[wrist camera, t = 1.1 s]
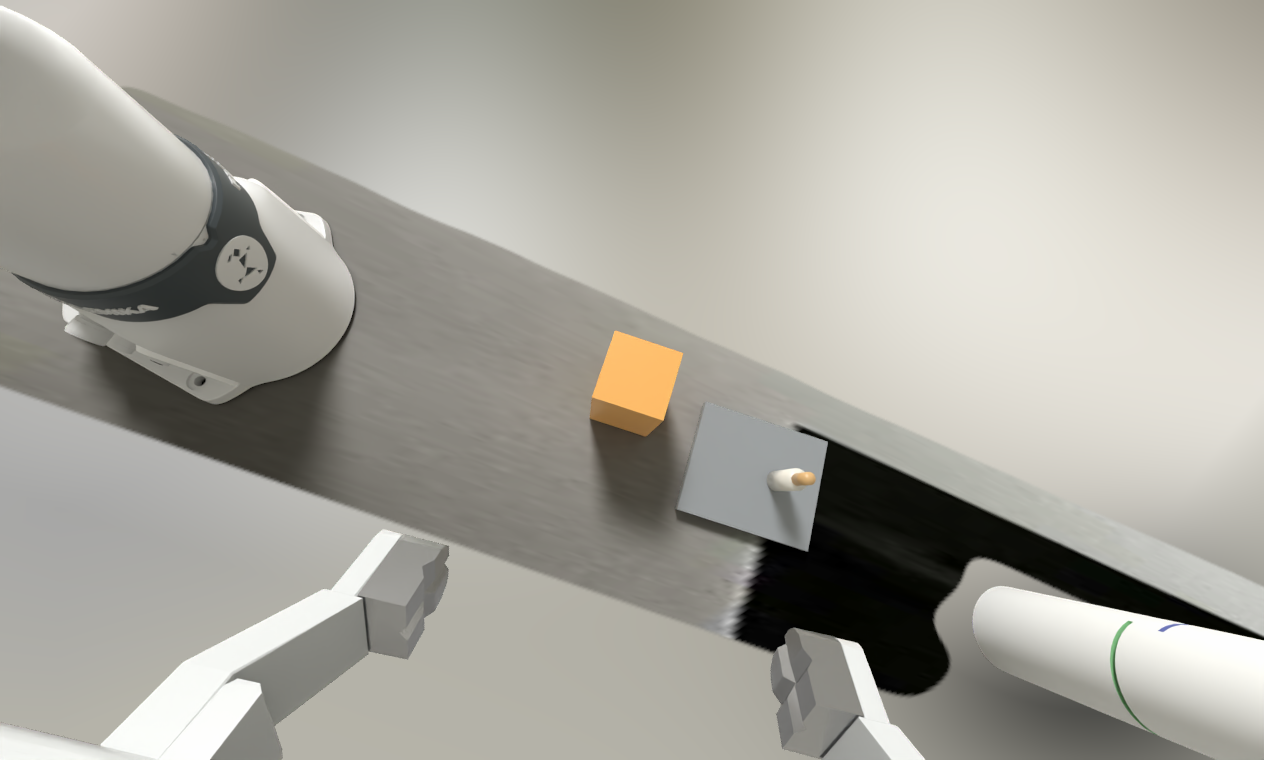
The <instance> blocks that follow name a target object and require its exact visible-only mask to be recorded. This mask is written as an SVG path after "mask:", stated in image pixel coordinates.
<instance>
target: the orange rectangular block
mask: <svg viewBox="0 0 1264 760" xmlns="http://www.w3.org/2000/svg"><path fill="white" fill-rule="evenodd" d="M682 356H683V353H681V352H678V351H675V350H672V349H669V348H666V347H663V346H660V345H657V344H654V343H651V342H648V341H645V340H642V339H639V338H636V337H633V336H630V335H627V334H624V333H621V332H618V331H615V332H614V335H613V338H612V341H611V344H610V347H609V349H608V352H607V355H606V358H605V361H604V364H603V367H602V370H601V373H600V375H599V378H598V381H597V384H596V387H595V390H594V393H593V396H592V402H591V411H590V419H593V420H596V421H599V422H602V423H605V424H608V425H611V426H614V427H617V428H620V429H623V430H626V431H629V432H633V433H636V434H639V435H642V436H645V437H646V436H647V435H648V434H650V433H651V432H652V431H653V430H654V429H655V428H656V427H657V426H658V425H659V424H660V423H661V422H663V421H664V417H665V414H666V410H667V407H668V403H669V400H670V397H671V393H672V390H673V386H674V383H675V380H676V376H677V373H678V369H679V366H680V362H681V359H682Z"/></svg>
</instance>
